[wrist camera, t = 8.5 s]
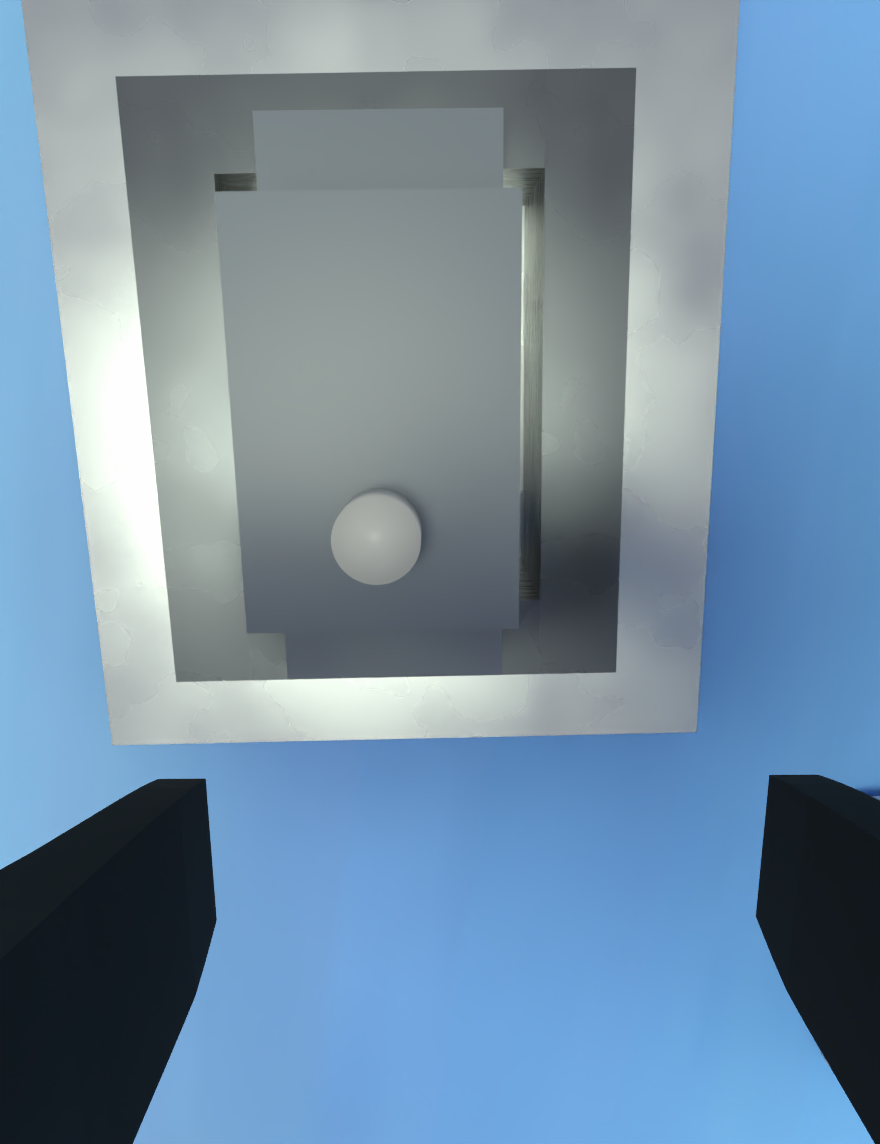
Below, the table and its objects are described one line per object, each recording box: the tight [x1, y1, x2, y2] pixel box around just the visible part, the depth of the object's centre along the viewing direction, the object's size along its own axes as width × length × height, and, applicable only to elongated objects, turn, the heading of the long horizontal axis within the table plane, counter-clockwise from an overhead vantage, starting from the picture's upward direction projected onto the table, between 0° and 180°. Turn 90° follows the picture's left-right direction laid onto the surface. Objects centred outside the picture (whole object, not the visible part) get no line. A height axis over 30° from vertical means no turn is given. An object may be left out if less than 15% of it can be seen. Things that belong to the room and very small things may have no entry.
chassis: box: [21, 0, 740, 745], centre depth 16 cm, size 14×16×4 cm
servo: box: [214, 108, 522, 679], centre depth 14 cm, size 4×10×7 cm, turn 1°
